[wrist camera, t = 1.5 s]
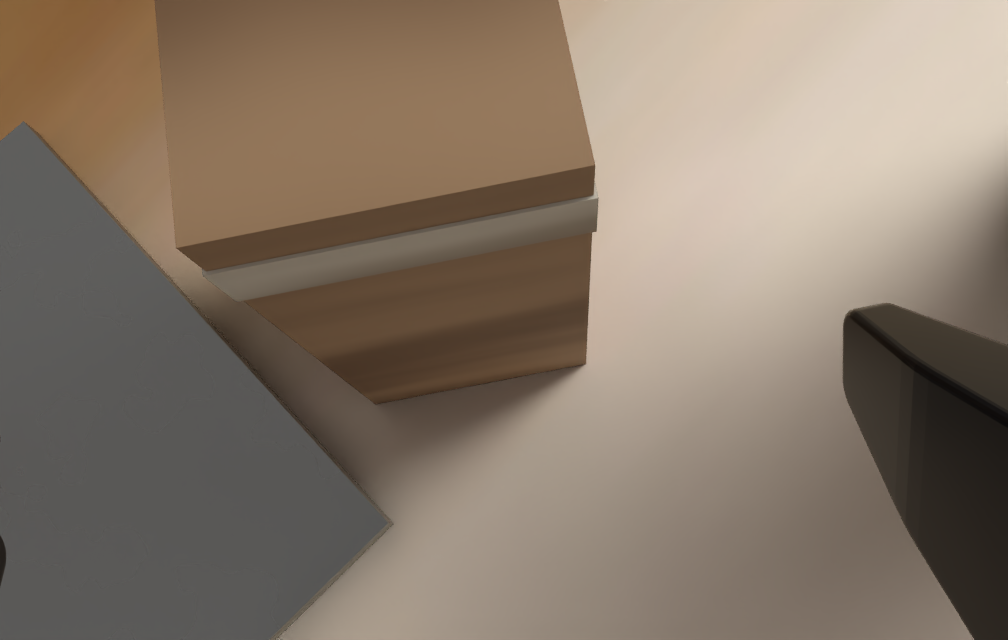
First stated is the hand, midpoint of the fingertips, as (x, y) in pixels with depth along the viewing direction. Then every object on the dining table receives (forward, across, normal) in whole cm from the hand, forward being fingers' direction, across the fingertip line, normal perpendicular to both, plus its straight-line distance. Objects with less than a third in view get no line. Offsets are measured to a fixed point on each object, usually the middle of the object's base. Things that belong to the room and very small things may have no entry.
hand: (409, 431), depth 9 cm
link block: (+12, 0, +5) cm, 13 cm away
